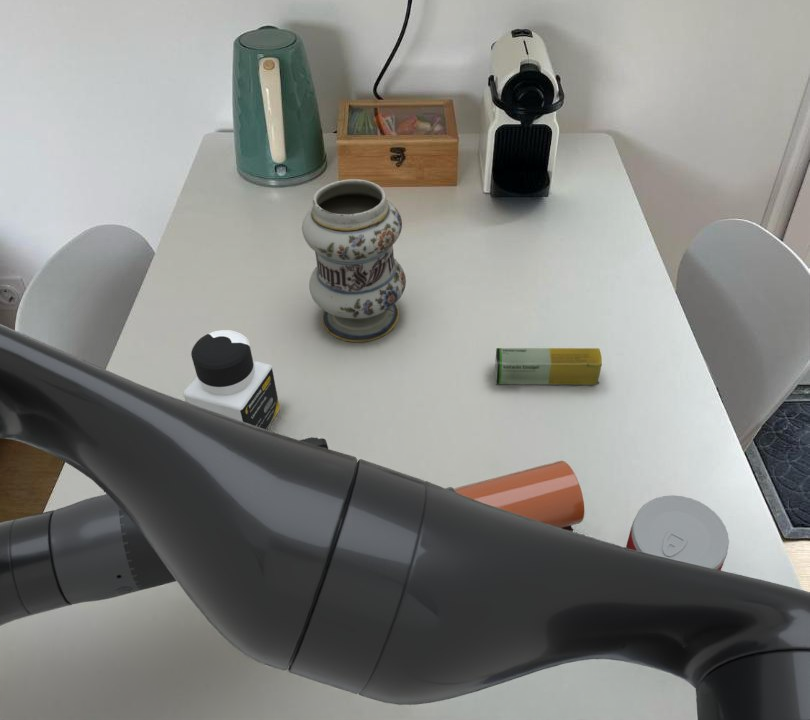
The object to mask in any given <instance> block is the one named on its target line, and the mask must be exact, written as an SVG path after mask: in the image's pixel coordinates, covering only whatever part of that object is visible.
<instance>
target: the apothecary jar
mask: <svg viewBox="0 0 810 720" xmlns="http://www.w3.org/2000/svg"><path fill="white" fill-rule="evenodd" d="M402 228H403V221H402V216H401V214H400V212H399V210H398V209H397V207H396V206H395V205H394V204H393V203H392V202H390V201H389V200H388V199H387V195H386V192H385V191H384V189H383V188H382V187H381V186H380V185H379V184H377V183H375V182H374V181H373V182H372V181H370V180H366V179H359V178H348V179H341V180H336V181H333V182H330V183H328V184H326V185H324V186H322V187H321V188H319V189H318V190H317V191H316V192H315V193H314V194H313V197H312V206H311V207H310V208H309V209H308V210H307V212H306V213H305V215H304V217H303V219H302V224H301V232H302V235H303V239H304V240H305V242H306V244H307V246H309V248H311V250H312V251H314V252H315V262H316V266H315V268H314V269H313V271H312V272H311V274H310V278H309V280H308V281H309V282H308V284H309V285H308V289H309V293H310V296H311V298H312V300H313V301H314V303H315V304H316V305H317V306H318V307H319V308H320V309H322V310H323V315H322V323H323V327H324V329H325V330H326V331H327V332H328V333H329V334H330V335H331V336H333V337H334V338H337V339H339V340H342V341H345V342H351V343H365V342H371V341H374V340H377V339H380V338H382V337H384V336H386V335H387V334H389V333H390V332H391V331H392V330H393V329H394V328H395V327H396V325H397V323H398V321H399V319H400V318H399V317H400V311H399V308H398V306H397V303H398V301H399V300H400V299H401V298H402V296H403V295H404V292H405V288H406V284H407V279H406V274H405V271H404V269H403V267H402V265H401V264H400V263H399V261H397V259H396V258H395V256H394V255H395V254H394V244H395V243H396V242H397V241H398V239H399V238H400V235H401V233H402V230H403V229H402Z"/></svg>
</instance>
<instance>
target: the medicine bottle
mask: <svg viewBox="0 0 810 720" xmlns="http://www.w3.org/2000/svg"><path fill="white" fill-rule="evenodd" d="M190 355H191V360H192V363H193V368H194V370H195V374H196V376H195V377H194V378H193V379H192V381H191V382H190V383H189V385H188V386H187V387H186V388H185V390H184V391H183V393H182V394H183V397H184V401H185V402H188V403H190V404H193V405H196V406H199V407H202V408H204V409H207V410H210V411H213V412H216V413H219V414H222V415H225V416H227V417H230V418H233V419H236V420H239V421H242V422H245V423H248V424H251V425H254V426H257V427H260V428H263V429H266V430H268V428H269V426H270V425H271V424H272V422H273V421H274V419H275V418H276V416H277V414H278V413H279V411H280V410H281V407H280V402H279V397H278V391H277V387H276V380H275V376H274V372H273V367H272V365H271V364H268V363H264V362H260V361H257V360H254V357H253V353H252V348H251V343H250V340H249V339H248V337H246V336H245V335H244V334H242V333H240V332H238V331H236V330H231V329H220V330H215V331H211V332H209V333H207V334H205V335H203V336H202V337H200V338H199V339H197V341H196V343H194V345H193V346H192V348H191V353H190Z"/></svg>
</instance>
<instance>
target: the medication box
mask: <svg viewBox="0 0 810 720" xmlns="http://www.w3.org/2000/svg"><path fill="white" fill-rule="evenodd" d="M494 361H495V362H494V382H495V385H579V386H581V385H585V386H586V385H587V386H588V385H590V386H591V385H594V386H595V385H596V386H597V385H600V382H599V379H600V374H601V370H602V365H603V361H602V352H601V350H600V348H599V347H598V348H597V347H596V348H595V347H593V348H591V347H590V348H588V347H586V348H585V347H584V348H582V347H581V348H579V347H575V348H573V347H567V348H565V347H564V348H563V347H561V348H559V347H557V348H555V347H554V348H553V347H551V348H550V347H543V348H542V347H525V348H524V347H521V348H520V347H519V348H517V347H515V348H514V347H497V348H496V350H495V360H494Z"/></svg>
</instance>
